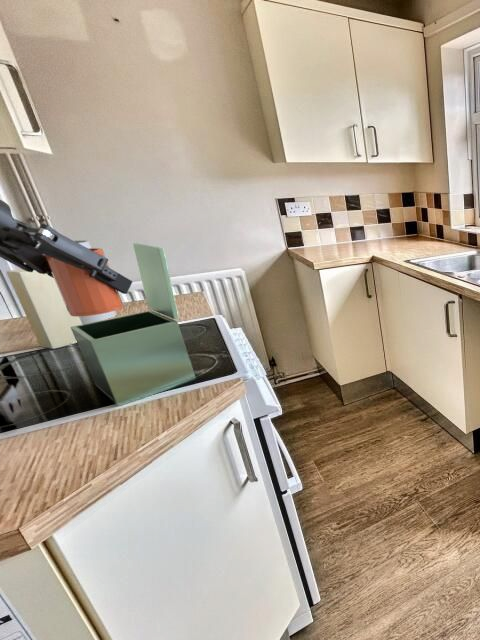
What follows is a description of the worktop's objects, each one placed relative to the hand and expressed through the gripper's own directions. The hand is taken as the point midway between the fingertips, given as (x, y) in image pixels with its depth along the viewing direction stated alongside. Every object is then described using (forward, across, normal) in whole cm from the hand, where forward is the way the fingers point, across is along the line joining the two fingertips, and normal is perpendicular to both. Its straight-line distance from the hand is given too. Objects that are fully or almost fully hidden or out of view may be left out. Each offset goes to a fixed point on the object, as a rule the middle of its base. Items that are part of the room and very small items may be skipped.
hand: (108, 287), depth 81 cm
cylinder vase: (+48, -64, +15) cm, 81 cm away
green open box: (+18, -3, -14) cm, 23 cm away
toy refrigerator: (+34, -51, +2) cm, 62 cm away
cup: (0, 0, -5) cm, 5 cm away
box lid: (+7, 0, +6) cm, 9 cm away
